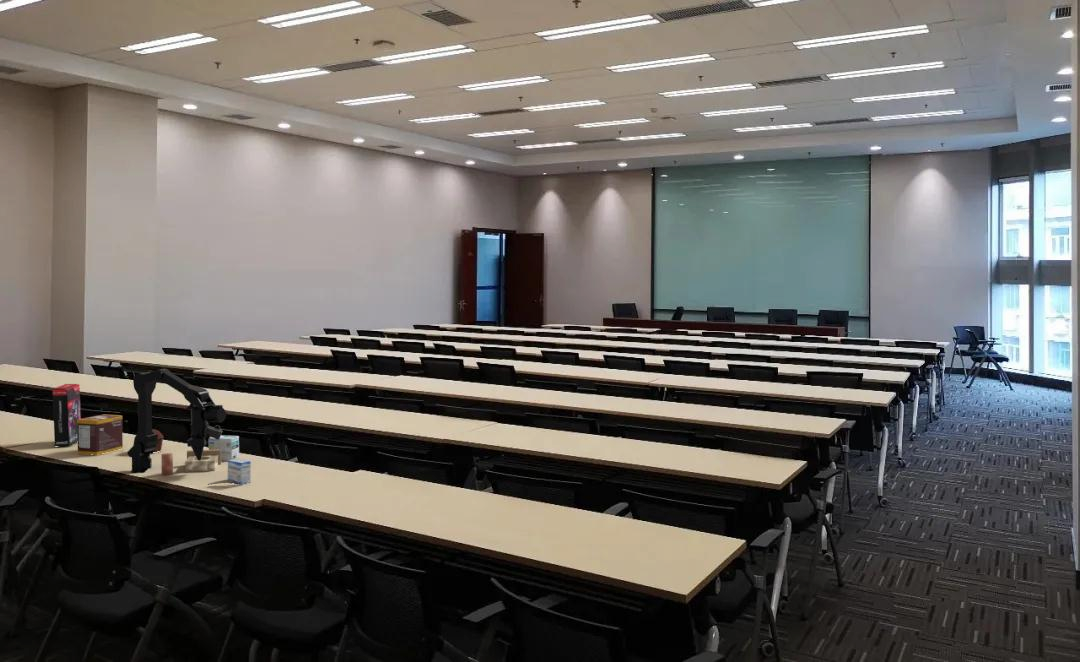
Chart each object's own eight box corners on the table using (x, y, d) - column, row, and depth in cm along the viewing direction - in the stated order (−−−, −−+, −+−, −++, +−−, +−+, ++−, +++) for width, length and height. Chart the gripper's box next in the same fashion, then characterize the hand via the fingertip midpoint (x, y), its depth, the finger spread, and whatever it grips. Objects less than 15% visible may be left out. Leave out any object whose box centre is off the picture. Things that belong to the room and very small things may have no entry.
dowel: (160, 478, 312) (160, 455, 311) (162, 475, 316) (162, 453, 315) (171, 477, 313) (171, 455, 312) (173, 475, 317) (173, 453, 316)
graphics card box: (69, 447, 366) (68, 388, 364) (52, 447, 364) (51, 388, 362) (81, 440, 382) (81, 383, 381) (65, 440, 381) (64, 383, 379)
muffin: (134, 450, 361) (134, 428, 361) (161, 448, 367) (161, 426, 367) (138, 455, 351) (137, 433, 351) (165, 453, 357) (165, 430, 357)
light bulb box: (239, 460, 346) (239, 435, 345) (232, 463, 339) (232, 438, 339) (216, 459, 347) (215, 434, 346) (208, 462, 340) (207, 437, 340)
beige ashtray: (185, 471, 319) (184, 461, 318) (189, 465, 329) (189, 455, 329) (214, 470, 322) (214, 460, 321) (218, 464, 332) (218, 455, 332)
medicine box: (227, 482, 307) (227, 460, 306) (236, 480, 311) (236, 458, 310) (241, 485, 303) (241, 462, 303) (251, 483, 307) (251, 460, 307)
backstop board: (179, 478, 312) (179, 460, 311) (187, 467, 331) (187, 450, 331) (214, 477, 315) (214, 459, 315) (221, 466, 334) (221, 449, 334)
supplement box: (123, 449, 364) (123, 415, 363) (96, 456, 349) (96, 420, 348) (104, 447, 366) (103, 413, 366) (77, 454, 352) (76, 419, 351)
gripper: (218, 424, 310) (218, 464, 310) (223, 416, 328) (223, 454, 328) (186, 425, 307) (187, 465, 307) (194, 417, 325) (194, 455, 325)
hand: (199, 460), depth 317 cm, fingers closed
